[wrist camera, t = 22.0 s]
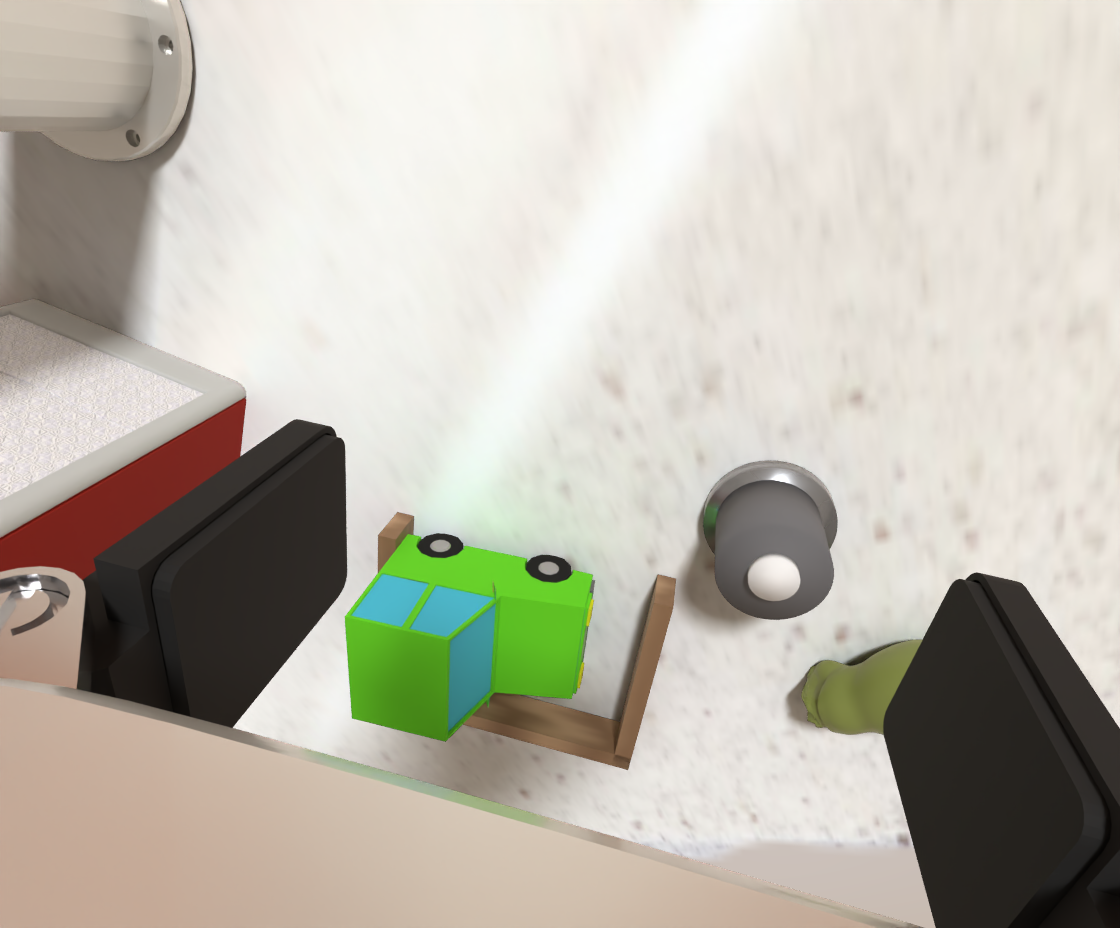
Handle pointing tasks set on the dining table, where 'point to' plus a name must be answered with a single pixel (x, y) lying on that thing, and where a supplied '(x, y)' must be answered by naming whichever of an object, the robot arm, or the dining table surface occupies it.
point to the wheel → (772, 551)
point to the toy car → (463, 634)
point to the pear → (856, 690)
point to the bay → (557, 722)
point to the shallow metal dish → (770, 472)
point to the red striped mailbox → (98, 435)
